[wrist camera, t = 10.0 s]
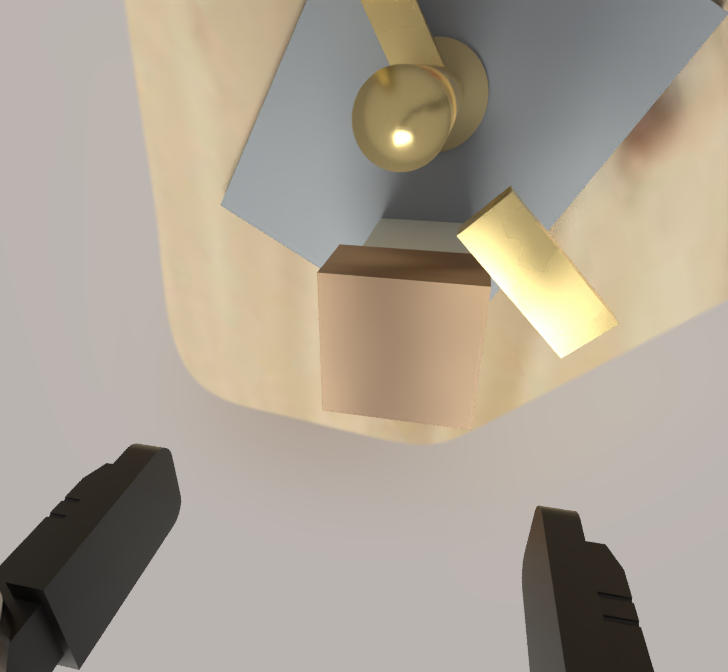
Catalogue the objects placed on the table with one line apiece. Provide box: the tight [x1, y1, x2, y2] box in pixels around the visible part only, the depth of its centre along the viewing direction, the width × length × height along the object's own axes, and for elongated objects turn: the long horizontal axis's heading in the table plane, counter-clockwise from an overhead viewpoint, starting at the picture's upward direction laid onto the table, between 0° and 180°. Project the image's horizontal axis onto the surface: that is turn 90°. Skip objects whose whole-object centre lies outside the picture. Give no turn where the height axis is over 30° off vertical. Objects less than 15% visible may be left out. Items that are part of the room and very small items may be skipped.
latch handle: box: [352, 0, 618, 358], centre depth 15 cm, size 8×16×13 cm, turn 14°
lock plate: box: [221, 0, 728, 301], centre depth 20 cm, size 14×17×7 cm
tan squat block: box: [317, 244, 491, 430], centre depth 18 cm, size 6×6×3 cm
